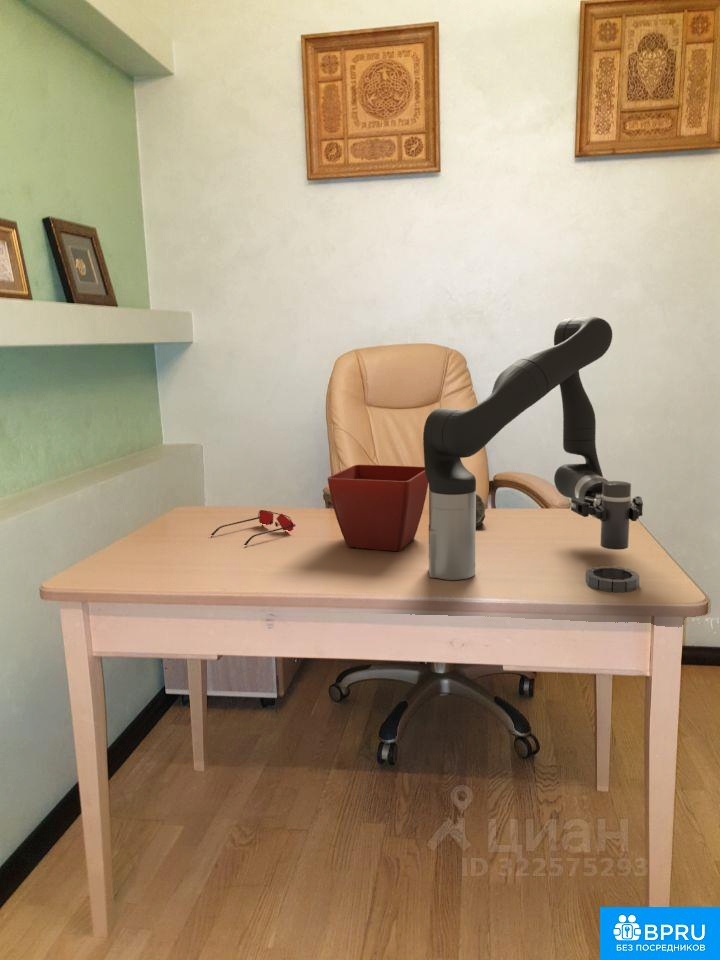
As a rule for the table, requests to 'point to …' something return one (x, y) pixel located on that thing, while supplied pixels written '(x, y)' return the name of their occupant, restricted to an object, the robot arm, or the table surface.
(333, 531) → the table surface
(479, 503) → the fossil
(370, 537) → the plant pot
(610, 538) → the dark grey canister
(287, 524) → the glasses
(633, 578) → the block ring
